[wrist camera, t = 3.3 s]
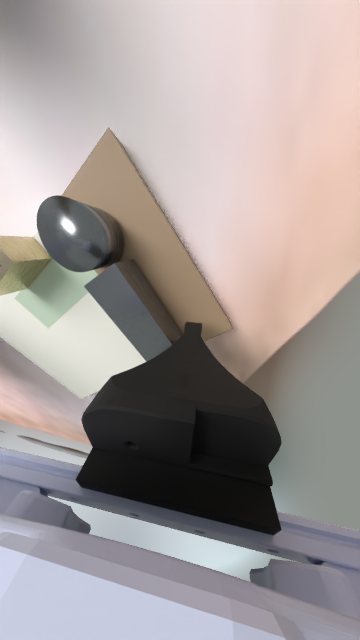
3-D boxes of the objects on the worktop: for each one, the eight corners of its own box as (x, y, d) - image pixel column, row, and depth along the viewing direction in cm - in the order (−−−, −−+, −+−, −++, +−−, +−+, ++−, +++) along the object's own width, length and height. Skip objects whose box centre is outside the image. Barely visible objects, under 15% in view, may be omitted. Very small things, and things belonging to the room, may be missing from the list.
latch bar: (65, 229, 9) (-1, 222, 6) (99, 194, 8) (39, 164, 5) (165, 360, 13) (154, 394, 10) (197, 347, 12) (195, 382, 9)
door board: (86, 392, 19) (80, 399, 18) (-11, 315, 15) (-24, 319, 14) (230, 321, 12) (232, 328, 11) (119, 140, 8) (108, 127, 7)
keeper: (28, 288, 12) (-12, 298, 10) (10, 271, 11) (-37, 277, 9) (53, 258, 10) (13, 261, 8) (33, 237, 10) (-15, 235, 8)
